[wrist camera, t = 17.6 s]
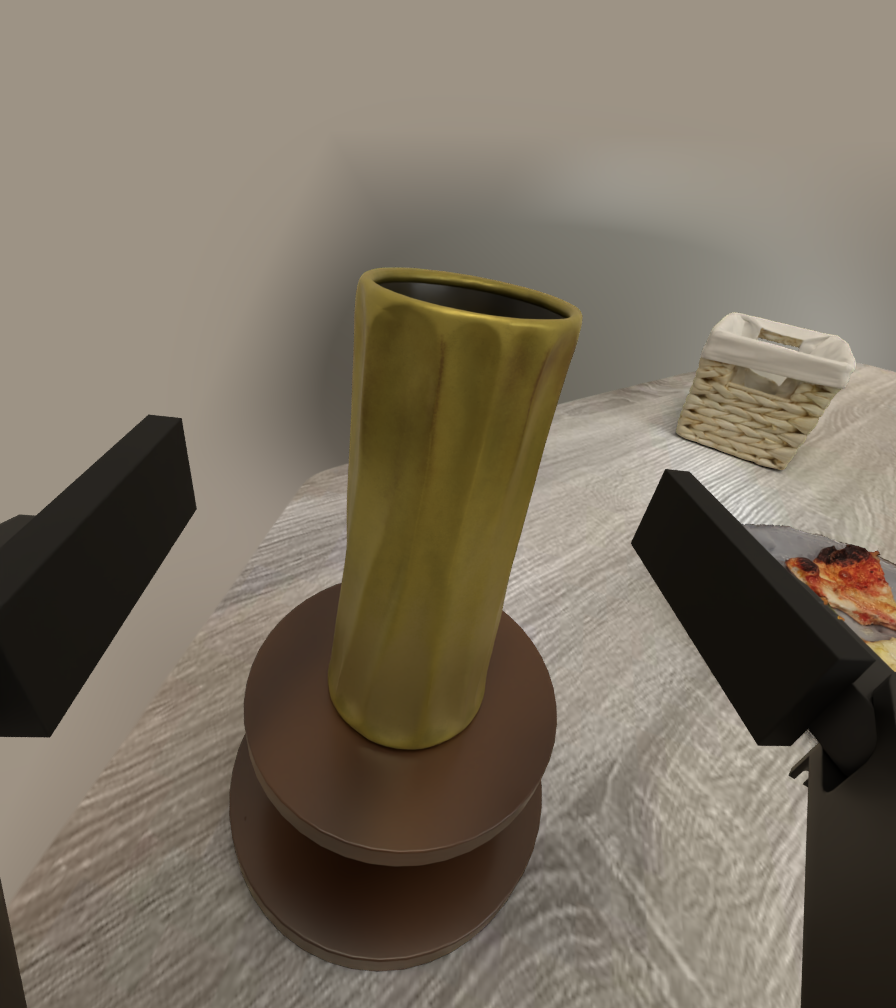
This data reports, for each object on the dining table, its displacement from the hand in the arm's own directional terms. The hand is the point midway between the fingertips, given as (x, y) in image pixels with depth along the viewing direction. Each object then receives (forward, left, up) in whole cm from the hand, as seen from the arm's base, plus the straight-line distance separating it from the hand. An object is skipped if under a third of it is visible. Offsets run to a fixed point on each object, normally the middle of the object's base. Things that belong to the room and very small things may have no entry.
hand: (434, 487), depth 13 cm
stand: (0, +1, -16) cm, 16 cm away
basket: (+40, +59, -17) cm, 73 cm away
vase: (0, +1, -9) cm, 9 cm away
